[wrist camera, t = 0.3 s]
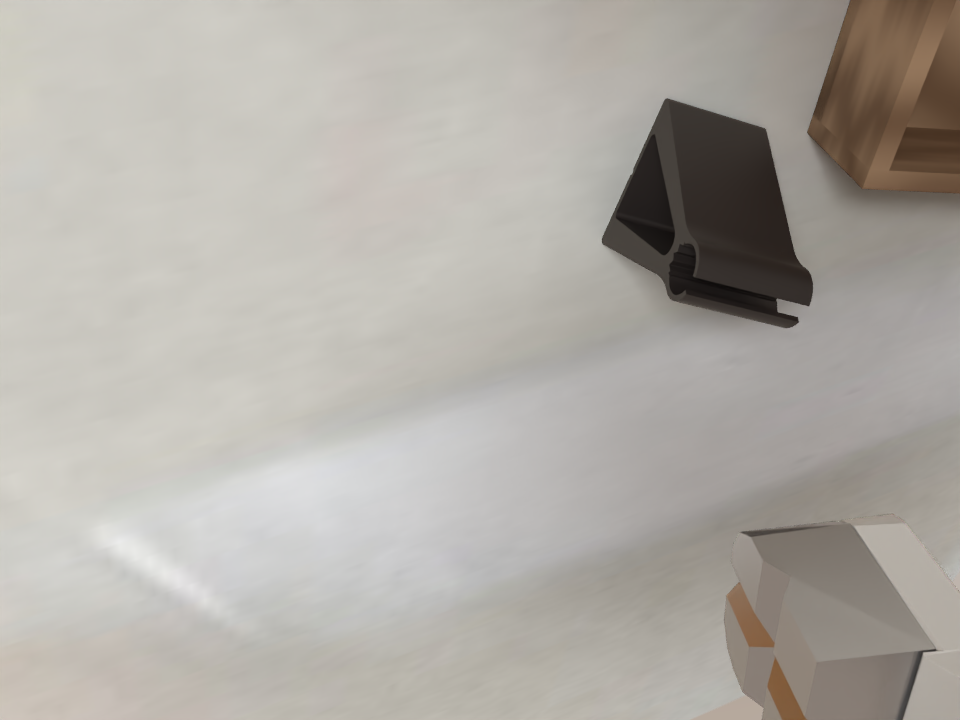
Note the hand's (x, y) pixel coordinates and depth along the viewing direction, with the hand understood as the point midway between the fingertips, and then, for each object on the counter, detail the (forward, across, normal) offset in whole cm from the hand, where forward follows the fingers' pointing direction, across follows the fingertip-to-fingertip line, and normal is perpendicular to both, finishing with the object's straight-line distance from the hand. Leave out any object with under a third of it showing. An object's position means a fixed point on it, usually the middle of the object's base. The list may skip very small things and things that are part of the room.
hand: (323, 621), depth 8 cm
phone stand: (+40, -16, +11) cm, 45 cm away
